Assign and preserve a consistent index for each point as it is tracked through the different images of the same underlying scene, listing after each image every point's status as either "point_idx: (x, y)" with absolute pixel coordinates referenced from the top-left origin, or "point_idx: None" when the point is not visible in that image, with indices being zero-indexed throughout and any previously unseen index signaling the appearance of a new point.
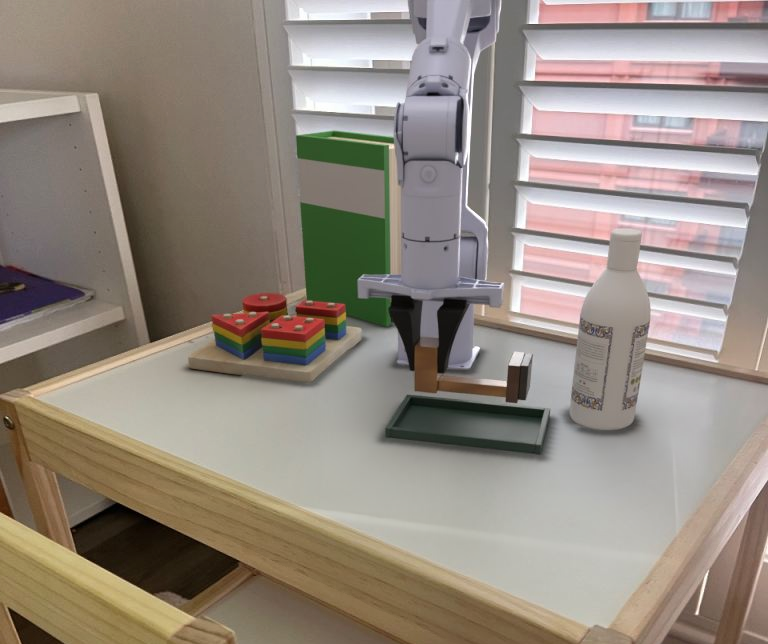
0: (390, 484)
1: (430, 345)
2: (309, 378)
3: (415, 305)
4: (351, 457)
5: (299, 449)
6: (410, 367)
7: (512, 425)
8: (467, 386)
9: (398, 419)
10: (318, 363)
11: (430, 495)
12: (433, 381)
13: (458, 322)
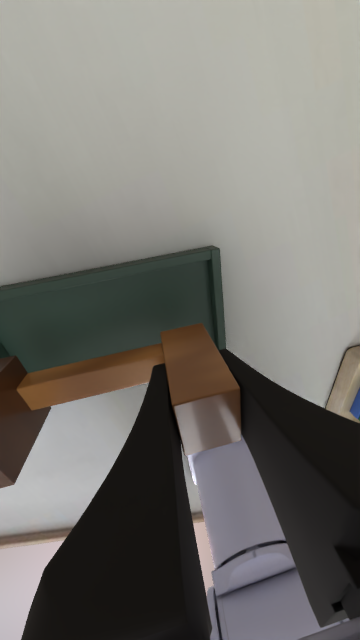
0: (136, 61)
1: (198, 410)
2: (354, 353)
3: (337, 571)
4: (244, 158)
5: (332, 152)
6: (228, 351)
7: (60, 359)
8: (103, 363)
9: (213, 295)
10: (353, 381)
11: (35, 36)
12: (168, 342)
13: (56, 552)
